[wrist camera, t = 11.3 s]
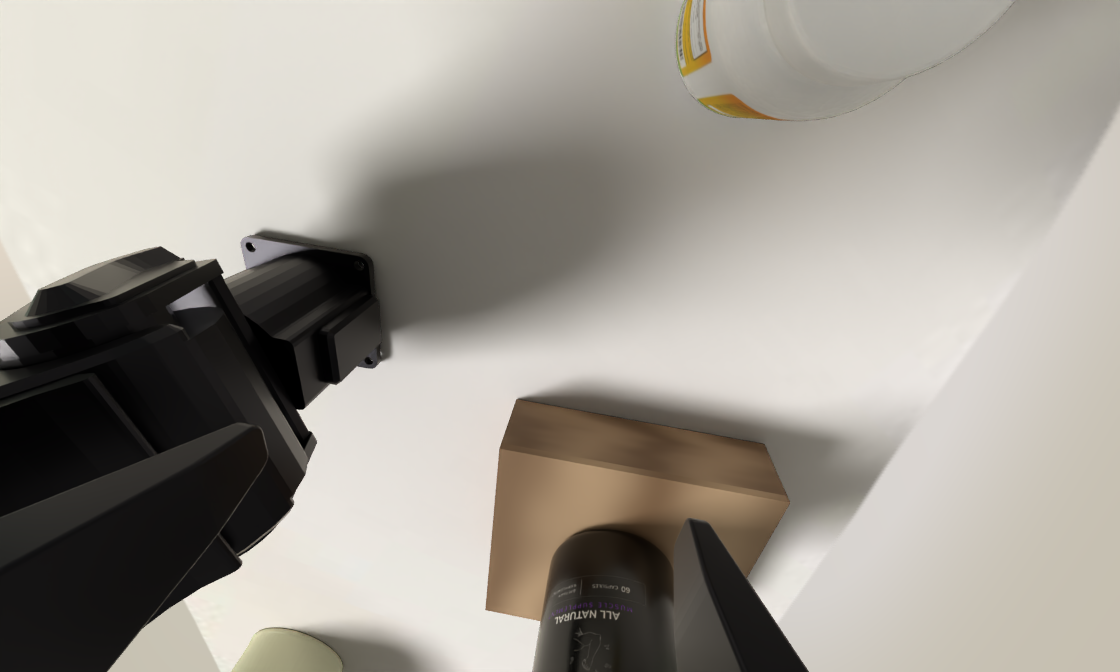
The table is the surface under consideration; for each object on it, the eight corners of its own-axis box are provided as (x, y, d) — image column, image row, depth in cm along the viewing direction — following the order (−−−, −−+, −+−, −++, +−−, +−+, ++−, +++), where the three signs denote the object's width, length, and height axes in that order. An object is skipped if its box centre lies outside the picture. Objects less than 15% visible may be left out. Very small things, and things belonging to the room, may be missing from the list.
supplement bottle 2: (860, 42, 15) (1184, -46, 6) (721, 148, 17) (828, 187, 8) (787, -115, 13) (1088, -507, 5) (644, 23, 15) (678, -84, 7)
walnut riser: (500, 552, 31) (485, 609, 27) (516, 399, 24) (499, 448, 21) (692, 590, 30) (702, 653, 27) (764, 444, 24) (790, 502, 20)
